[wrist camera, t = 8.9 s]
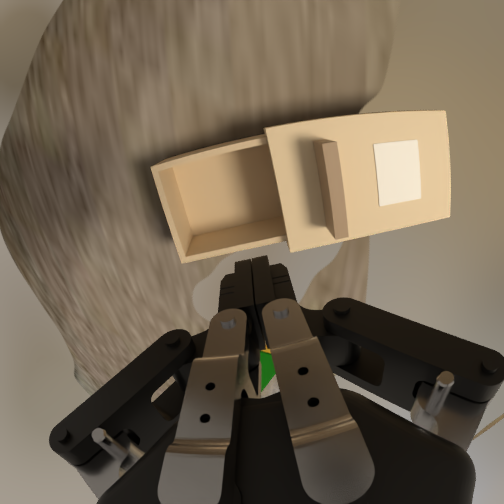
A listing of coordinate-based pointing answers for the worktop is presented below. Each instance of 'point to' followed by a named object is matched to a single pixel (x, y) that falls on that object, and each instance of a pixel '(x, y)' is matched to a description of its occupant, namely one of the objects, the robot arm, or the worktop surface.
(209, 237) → the box
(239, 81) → the worktop surface
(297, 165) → the lid
